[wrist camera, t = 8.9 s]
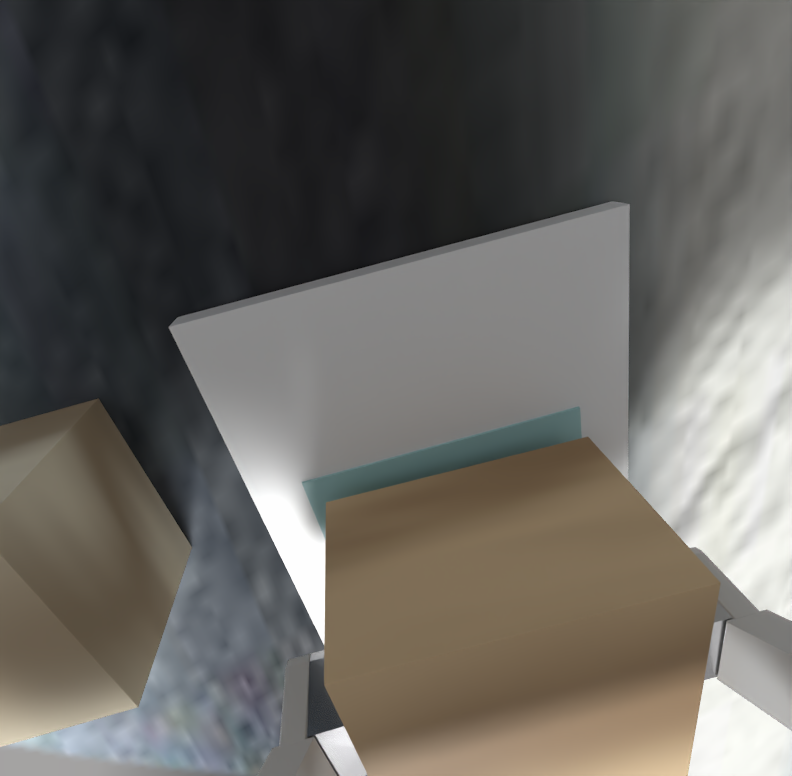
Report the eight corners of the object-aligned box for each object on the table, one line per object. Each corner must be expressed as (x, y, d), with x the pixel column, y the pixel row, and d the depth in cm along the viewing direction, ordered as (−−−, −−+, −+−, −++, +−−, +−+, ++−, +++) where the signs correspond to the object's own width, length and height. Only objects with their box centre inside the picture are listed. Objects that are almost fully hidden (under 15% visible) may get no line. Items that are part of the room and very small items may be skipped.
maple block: (-106, 453, 10) (-345, 620, 6) (101, 395, 10) (-24, 528, 6) (22, 593, 12) (-104, 777, 8) (193, 544, 12) (138, 706, 9)
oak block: (325, 502, 10) (324, 685, 7) (587, 436, 10) (720, 582, 7) (384, 662, 13) (405, 852, 10) (591, 609, 13) (687, 778, 10)
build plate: (177, 316, 9) (167, 328, 9) (612, 200, 9) (631, 204, 9) (335, 649, 14) (335, 670, 14) (616, 571, 15) (628, 588, 14)
